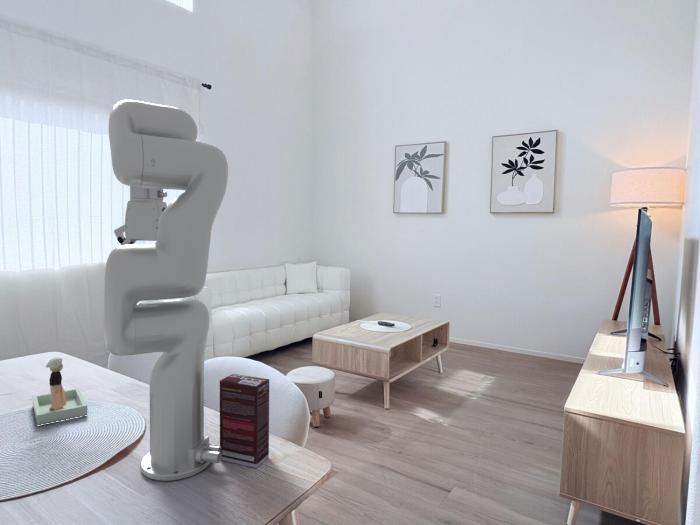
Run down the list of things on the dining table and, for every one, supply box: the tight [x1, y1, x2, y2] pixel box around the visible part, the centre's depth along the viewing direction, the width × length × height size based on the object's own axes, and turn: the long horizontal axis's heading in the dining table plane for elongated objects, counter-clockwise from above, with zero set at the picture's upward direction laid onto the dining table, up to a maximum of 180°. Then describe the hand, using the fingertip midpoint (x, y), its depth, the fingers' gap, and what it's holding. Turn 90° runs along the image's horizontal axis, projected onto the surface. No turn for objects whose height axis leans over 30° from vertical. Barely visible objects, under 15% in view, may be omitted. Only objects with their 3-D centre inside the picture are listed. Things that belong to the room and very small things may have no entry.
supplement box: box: [219, 373, 270, 469], centre depth 85 cm, size 9×5×16 cm, turn 70°
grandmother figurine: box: [45, 356, 66, 411], centre depth 103 cm, size 8×4×13 cm, turn 52°
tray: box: [32, 387, 88, 426], centre depth 104 cm, size 14×10×3 cm
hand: (147, 263), depth 111 cm, fingers open, 9 cm apart
